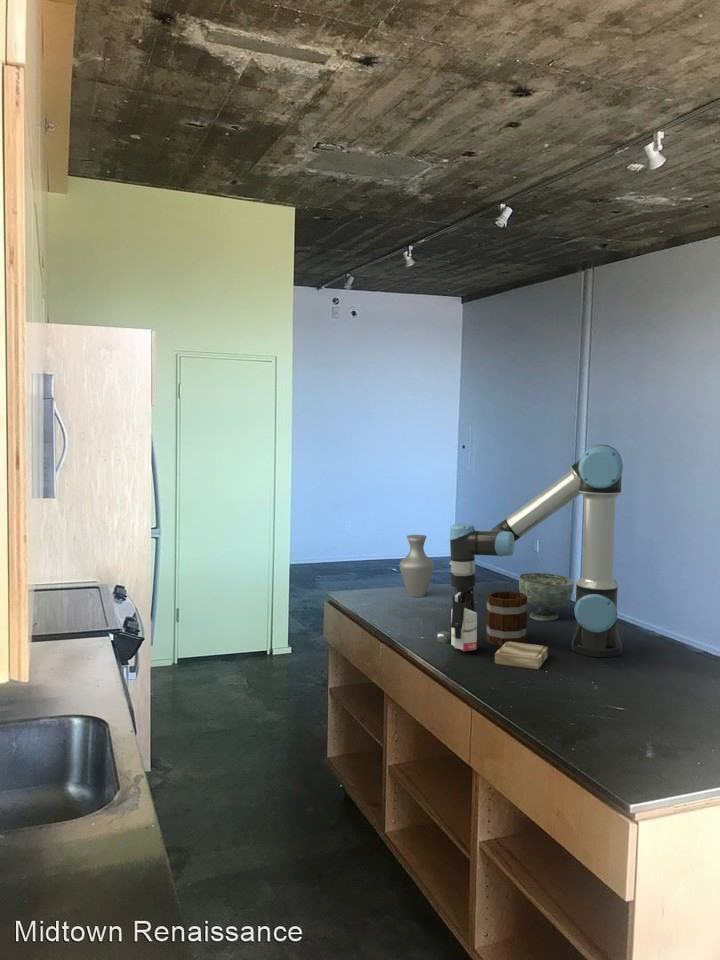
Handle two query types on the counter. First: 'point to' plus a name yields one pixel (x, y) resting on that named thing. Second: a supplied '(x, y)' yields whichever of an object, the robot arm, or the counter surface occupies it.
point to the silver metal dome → (443, 637)
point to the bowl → (545, 592)
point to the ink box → (467, 630)
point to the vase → (416, 567)
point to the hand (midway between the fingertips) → (464, 643)
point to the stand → (521, 655)
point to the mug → (506, 617)
